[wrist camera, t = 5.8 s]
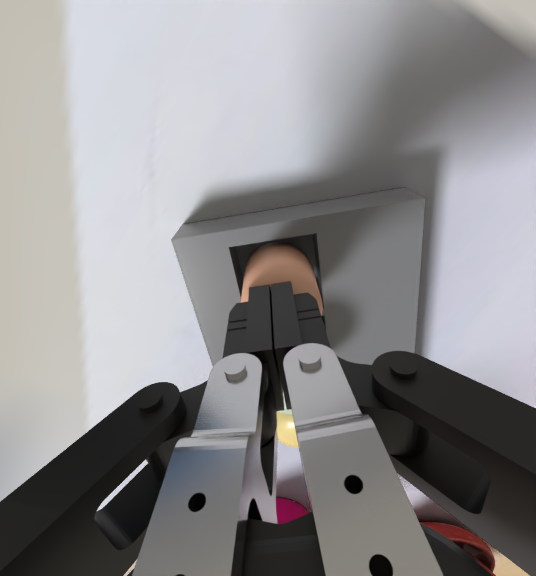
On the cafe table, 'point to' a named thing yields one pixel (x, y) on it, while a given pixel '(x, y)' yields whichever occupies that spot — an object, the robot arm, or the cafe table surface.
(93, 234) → the cafe table surface
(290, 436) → the ochre button
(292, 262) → the terracotta button
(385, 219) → the panel
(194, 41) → the cafe table surface
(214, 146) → the cafe table surface
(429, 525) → the plant pot
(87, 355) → the cafe table surface
